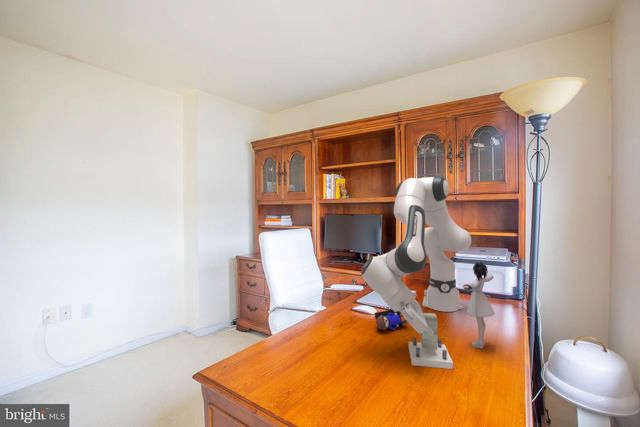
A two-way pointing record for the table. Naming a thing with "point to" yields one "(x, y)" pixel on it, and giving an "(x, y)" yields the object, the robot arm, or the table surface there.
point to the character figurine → (389, 320)
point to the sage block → (426, 339)
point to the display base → (430, 355)
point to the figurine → (479, 301)
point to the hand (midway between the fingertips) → (430, 329)
